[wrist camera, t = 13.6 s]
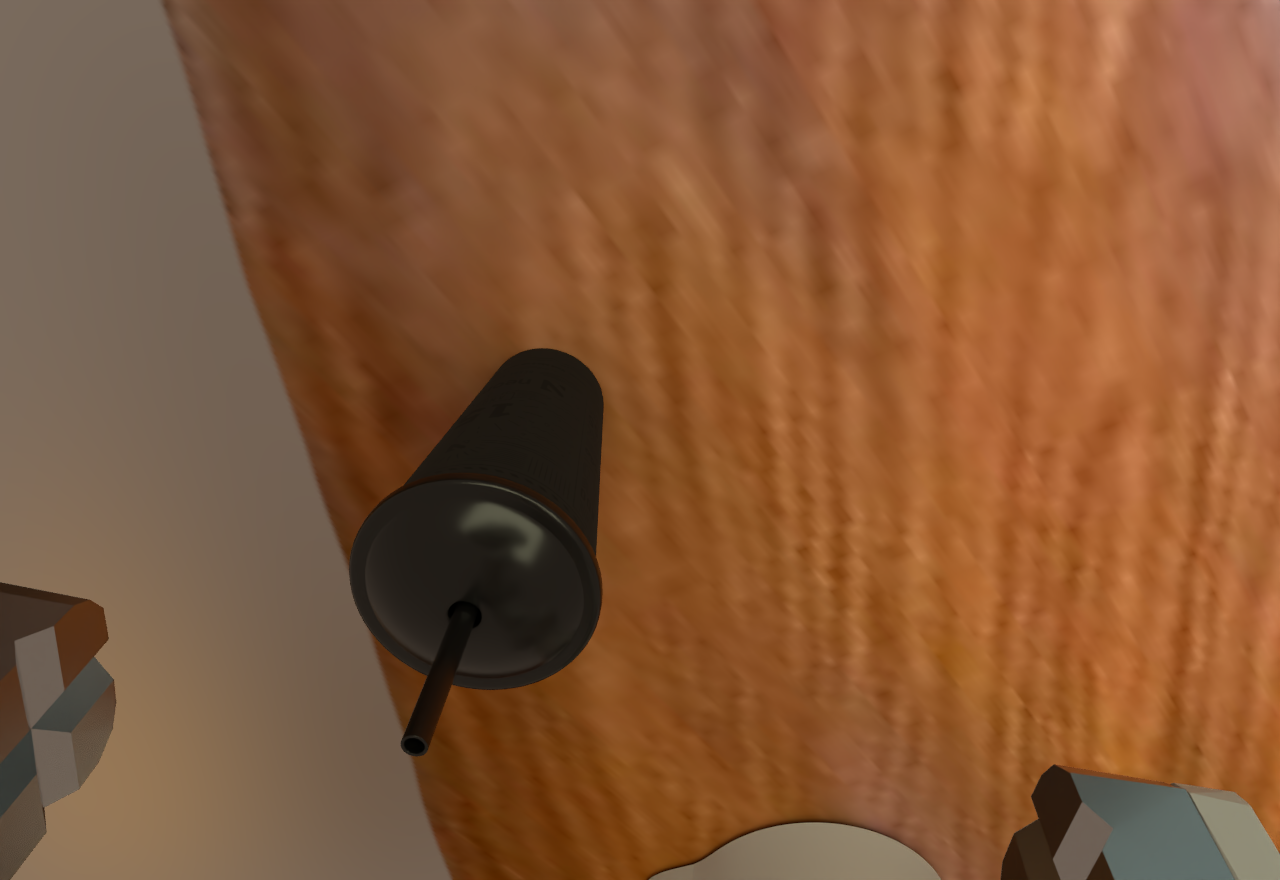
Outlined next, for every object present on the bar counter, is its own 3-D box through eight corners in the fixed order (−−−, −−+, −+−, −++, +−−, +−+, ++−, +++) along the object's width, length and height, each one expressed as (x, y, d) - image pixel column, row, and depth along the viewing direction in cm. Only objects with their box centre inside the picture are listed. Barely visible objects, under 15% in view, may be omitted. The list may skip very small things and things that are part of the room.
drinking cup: (671, 431, 42) (631, 797, 24) (524, 507, 44) (388, 891, 26) (573, 281, 39) (445, 567, 22) (421, 369, 42) (193, 694, 24)
